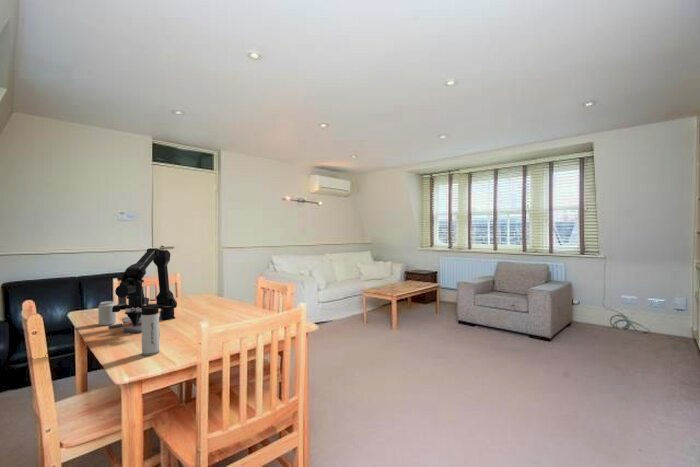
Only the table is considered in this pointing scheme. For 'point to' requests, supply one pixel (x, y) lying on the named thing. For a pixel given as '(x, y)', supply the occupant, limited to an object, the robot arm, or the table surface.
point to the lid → (128, 321)
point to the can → (106, 313)
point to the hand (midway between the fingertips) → (135, 325)
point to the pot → (129, 328)
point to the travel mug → (150, 330)
